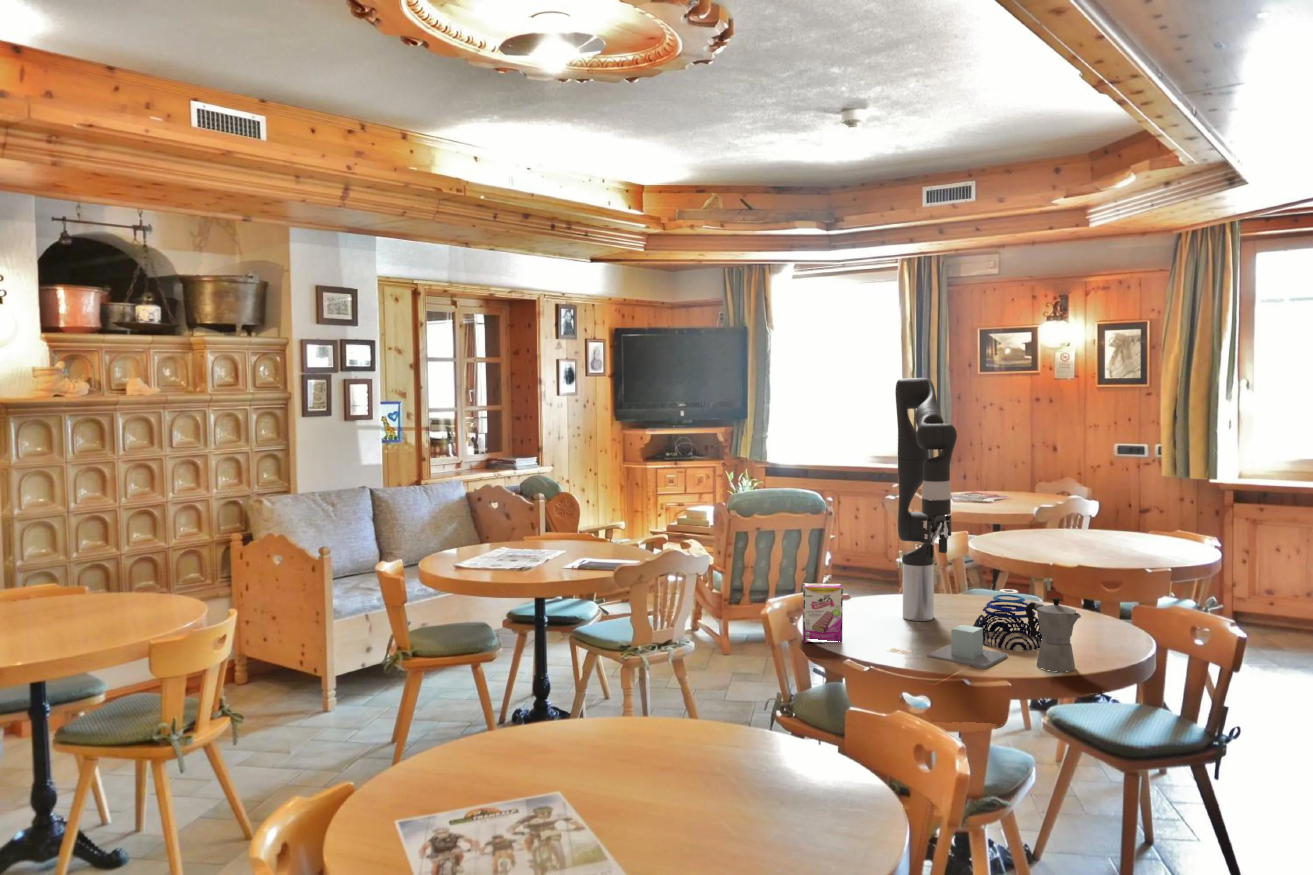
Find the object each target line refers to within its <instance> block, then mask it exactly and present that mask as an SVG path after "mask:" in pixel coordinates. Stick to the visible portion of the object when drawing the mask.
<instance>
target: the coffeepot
mask: <svg viewBox="0 0 1313 875" xmlns="http://www.w3.org/2000/svg"><path fill="white" fill-rule="evenodd" d="M1060 600H1061V599H1060V598H1058V597H1054V598H1052V601H1053V604H1048V605H1045V604H1043V603H1038V602H1034V601H1031V602H1029V603H1027V604H1028V605H1027V606H1026V605H1025V607H1026V608H1025V611H1024V612H1025V614H1027V618H1026V619H1027V622H1028V621H1029V624H1028V625H1030V630H1031V632H1032V633H1033V634H1036V636H1037V635H1040V634H1041V635H1042V641H1041V643H1039V644H1040V649H1038V651H1039V652H1038V656H1037V662H1036V667H1038V668H1039V667H1040V668H1043V669H1045V670H1044V671H1046V670H1050V671H1057V672H1056V673H1059V672H1065V673H1067V672H1066V671H1071V672H1074V671H1075V669H1076V664H1075V658H1074V653H1073V645H1072V643H1071V637H1072V636H1073V633H1074V632H1073V631H1074V630H1073V629H1074V626H1075V623H1076V622H1077V621H1078V619H1080V618H1081V617H1082V616H1081V614H1080V613H1078V612H1077V609H1074V608H1070V607H1068V606H1064V605H1060ZM1032 610H1033V611H1036V612H1037V613H1036V614H1037V619H1038V621H1039V626H1038V628H1040V631H1038V629H1037V630H1036V629H1035V627H1036V626H1035V622H1034V621H1035V618H1034V619H1033V613H1032ZM1040 668H1039V669H1040ZM1043 669H1042V670H1043ZM1050 671H1049V672H1050Z"/></svg>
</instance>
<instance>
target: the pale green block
mask: <svg viewBox="0 0 1313 875" xmlns="http://www.w3.org/2000/svg"><path fill="white" fill-rule="evenodd" d="M983 628H984V627H983ZM983 628H979V627H973V625H965V624H960V625H957V626H955V627H952V628H951V631H950V632H951V634H950V635H951V636H950V637H951V640H950V642H951V643H950V644H951V655H955V656H960V657H965V658H971V659H974V658H976V657H978V656H980V655H982V654H983V650H984V645H983Z"/></svg>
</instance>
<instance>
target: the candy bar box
mask: <svg viewBox="0 0 1313 875" xmlns="http://www.w3.org/2000/svg"><path fill="white" fill-rule="evenodd" d="M843 588H844V587H843V585H842V584H841V583H815V582H814V583H811V582H810V583H806V582H804V583H803V582H802V643H803V644H808V643H807V639H818V640H827V641H838V642H839V641H840V642H842V643H843V611H844V610H843V609H844V608H843V607H844V606H843V605H844V604H843V601H844V600H843V599H844V598H843V595H844V592H843V591H844V590H843Z"/></svg>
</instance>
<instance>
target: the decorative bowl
mask: <svg viewBox="0 0 1313 875" xmlns="http://www.w3.org/2000/svg"><path fill="white" fill-rule="evenodd" d="M999 592H1000V593H1001V594H997V595H994V596H993V597H992V600H989V601H988V602H987V603H986V604H985V606H984V607H983V609H982V611H983V612H984V613H985V614H986V615H985V616H984V615H983V614H980V615H978V617H977V618H976V620H975V621H974V624H973V625H972V626H973V627H979V628H983V646H987V647H993V648H996V647H997V648H998V649H1003V648H1002V646H1003V644H1004V650H1006V651H1014V649H1015V648H1016V647H1017V646H1019V647H1020V648H1022V651H1033V650H1032V649H1035V650H1038V649H1037V648H1040V644H1041V641H1042V640H1041V639H1042V635H1041V634H1040V633H1039V635H1036V634H1033V633H1032V632H1031V628H1030V625H1029V621H1028V620H1027V622H1025V621H1024V620H1023V619H1028V618H1027V614H1026V613H1025V614H1016V613H1018V612H1019V613H1020V612H1026V611H1025V608H1026V606H1027V605H1028V604H1029V603H1028V602H1025V601H1026V599H1025V597H1022V596H1020V595H1017V594H1019V591H1018V590H1017V589H1010V588H1003V589H1002V588H1001V589H999ZM1000 597H1011V598H1017V599H1004V598H1000ZM995 603H997V604H995ZM998 603H999V604H998ZM1000 603H1002V604H1000ZM1003 603H1006V604H1003ZM1007 603H1008V604H1007ZM1010 603H1011V604H1010ZM1012 603H1013V604H1012ZM1018 604H1019V605H1018ZM1023 605H1024V606H1023ZM988 609H992V610H994V611H991V610H988ZM1032 613H1033V619H1034V622H1035V629H1036V630H1037V631H1039V632H1040V628H1039V621H1038V617H1037V616H1036V612H1035V610H1034V609H1032ZM990 633H993V634H992V635H991V637H990ZM1002 633H1004V634H1002ZM1012 634H1021V635H1025V636H1026V637H1027V638H1025V637H1024V636H1013V637H1011V638H1009V639H1008V640H1007V637H1008V636H1010V635H1012ZM1036 636H1037V637H1036ZM1038 637H1039V638H1038ZM1033 638H1034V639H1033ZM998 639H999V640H998ZM1028 639H1029V640H1028ZM989 640H990V641H989ZM993 640H994V641H993ZM1005 640H1006V641H1005ZM1014 640H1023V641H1014ZM1034 640H1035V641H1034ZM1012 641H1014V642H1012ZM985 642H986V643H987V644H985ZM993 642H994V645H993ZM1004 642H1005V643H1004ZM1010 642H1011V644H1010ZM1024 642H1025V643H1024ZM1031 643H1032V644H1033V645H1032V644H1031ZM1009 644H1010V647H1009V648H1008V646H1009ZM1026 644H1027V645H1028V647H1027V645H1026ZM1033 646H1034V647H1033Z"/></svg>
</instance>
